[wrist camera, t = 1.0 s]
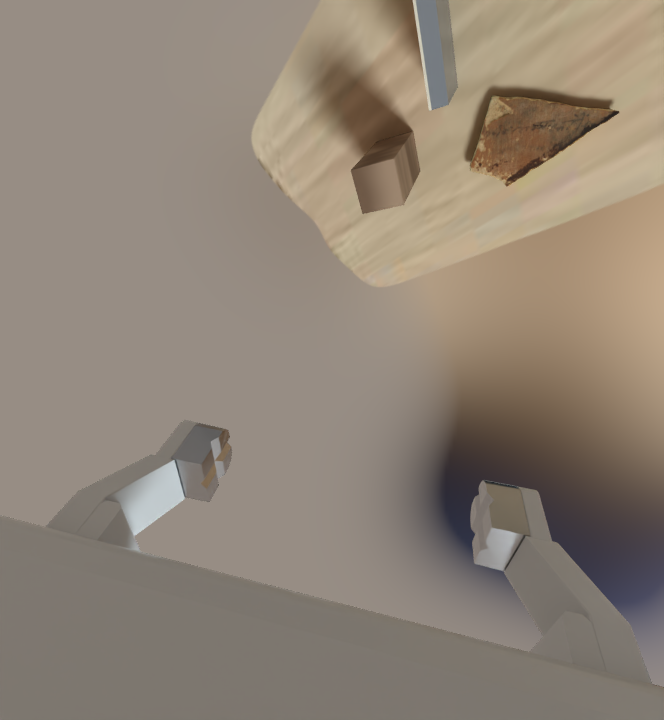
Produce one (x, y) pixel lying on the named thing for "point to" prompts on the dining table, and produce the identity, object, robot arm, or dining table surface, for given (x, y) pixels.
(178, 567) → the robot arm
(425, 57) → the slate board
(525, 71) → the dining table surface
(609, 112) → the shard
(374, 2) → the dining table surface
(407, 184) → the walnut block
